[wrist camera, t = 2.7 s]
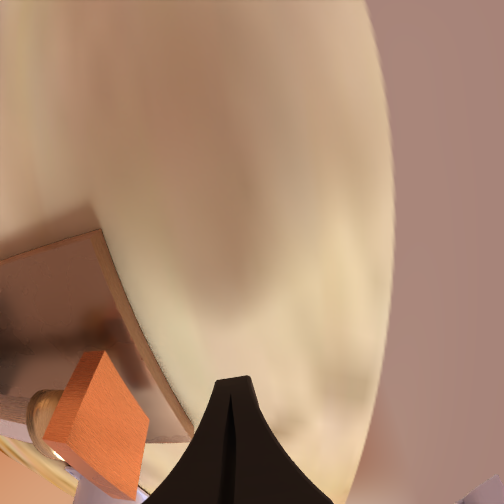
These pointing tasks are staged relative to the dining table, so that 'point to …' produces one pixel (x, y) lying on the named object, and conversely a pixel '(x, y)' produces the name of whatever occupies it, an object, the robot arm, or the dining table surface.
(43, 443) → the shaft
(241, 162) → the dining table surface
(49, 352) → the bearing base
